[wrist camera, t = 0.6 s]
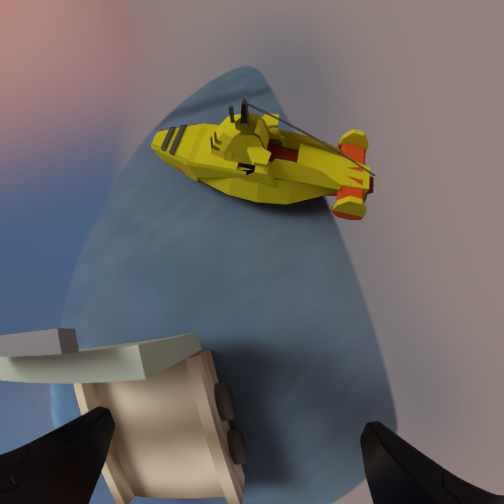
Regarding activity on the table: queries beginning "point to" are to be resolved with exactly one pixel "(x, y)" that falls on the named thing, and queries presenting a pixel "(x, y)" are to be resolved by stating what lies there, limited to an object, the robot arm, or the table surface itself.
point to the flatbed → (171, 434)
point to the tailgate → (87, 357)
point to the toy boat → (263, 153)
